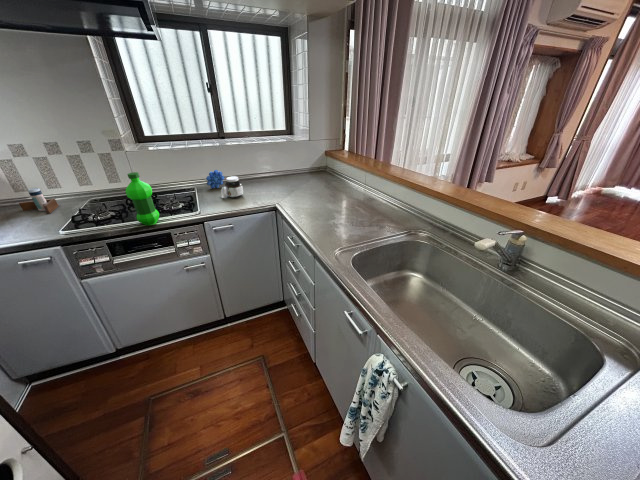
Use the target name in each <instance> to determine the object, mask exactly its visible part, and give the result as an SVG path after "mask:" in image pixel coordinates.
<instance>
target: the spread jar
mask: <svg viewBox="0 0 640 480" xmlns="http://www.w3.org/2000/svg"><path fill="white" fill-rule="evenodd" d="M243 195H244V188H243V184H242V182H241V181H240V180H239V177H238V176H236V175H234V176H228V177H226V181H225V182H224V186H222V187H221V189H220V197H221V199H226V198H227V197H228V198H230V199H239V198H241V197H242V196H243Z"/></svg>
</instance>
